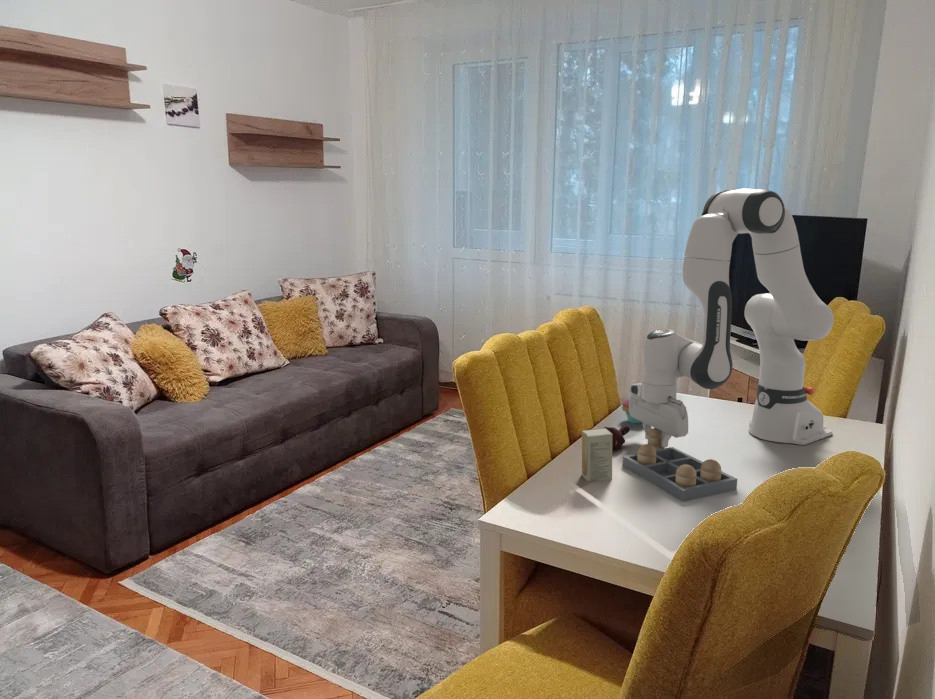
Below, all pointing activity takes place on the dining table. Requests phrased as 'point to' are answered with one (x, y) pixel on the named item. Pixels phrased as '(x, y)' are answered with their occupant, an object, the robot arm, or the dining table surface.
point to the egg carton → (665, 474)
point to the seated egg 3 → (710, 471)
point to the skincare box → (597, 454)
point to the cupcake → (626, 409)
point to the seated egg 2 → (685, 476)
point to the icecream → (618, 436)
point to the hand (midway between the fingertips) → (656, 442)
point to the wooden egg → (655, 438)
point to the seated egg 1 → (646, 454)
